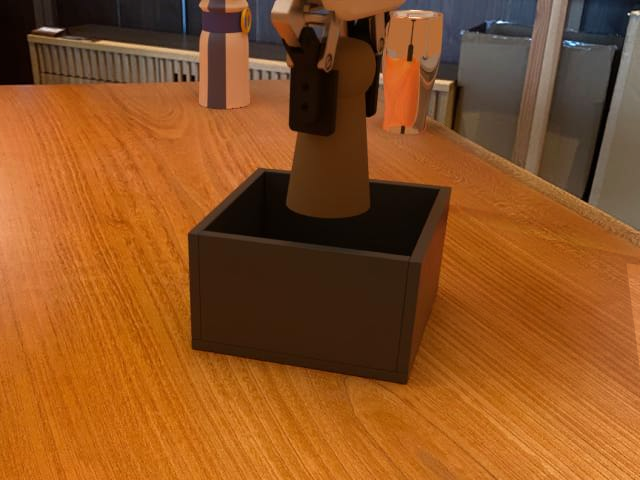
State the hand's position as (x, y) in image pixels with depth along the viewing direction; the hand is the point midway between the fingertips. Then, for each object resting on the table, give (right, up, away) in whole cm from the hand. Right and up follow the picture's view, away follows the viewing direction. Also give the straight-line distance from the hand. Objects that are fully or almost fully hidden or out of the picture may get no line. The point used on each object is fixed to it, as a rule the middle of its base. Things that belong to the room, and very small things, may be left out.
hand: (333, 120), depth 57 cm
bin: (0, -13, +8) cm, 15 cm away
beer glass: (+15, +14, +51) cm, 55 cm away
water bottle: (-8, +25, +69) cm, 74 cm away
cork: (0, -5, +3) cm, 6 cm away
